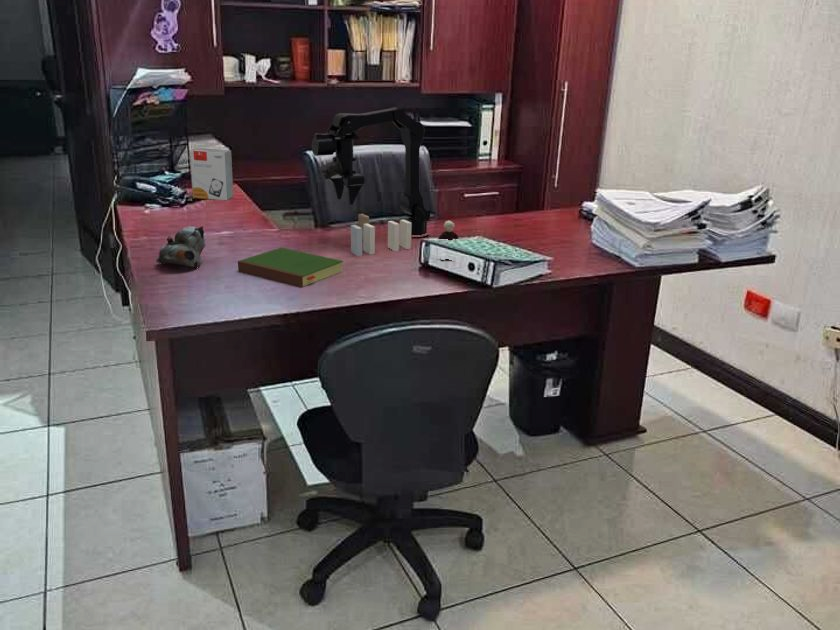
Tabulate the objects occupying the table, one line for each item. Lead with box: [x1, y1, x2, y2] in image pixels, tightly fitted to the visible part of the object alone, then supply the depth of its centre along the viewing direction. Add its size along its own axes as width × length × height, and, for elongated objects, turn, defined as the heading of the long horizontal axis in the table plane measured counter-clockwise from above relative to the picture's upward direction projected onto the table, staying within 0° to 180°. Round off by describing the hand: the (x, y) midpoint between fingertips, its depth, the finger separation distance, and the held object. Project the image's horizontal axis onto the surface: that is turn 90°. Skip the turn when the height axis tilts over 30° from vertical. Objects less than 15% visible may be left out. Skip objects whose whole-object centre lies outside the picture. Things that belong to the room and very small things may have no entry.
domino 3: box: [362, 223, 376, 255], centre depth 238 cm, size 2×5×9 cm, turn 30°
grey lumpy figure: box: [155, 226, 206, 269], centre depth 220 cm, size 15×12×14 cm
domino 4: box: [387, 220, 400, 252], centre depth 243 cm, size 2×5×9 cm, turn 31°
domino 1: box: [350, 224, 363, 257], centre depth 236 cm, size 2×5×9 cm, turn 30°
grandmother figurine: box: [437, 220, 460, 241], centre depth 232 cm, size 8×4×13 cm, turn 118°
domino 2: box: [357, 213, 370, 241], centre depth 251 cm, size 2×5×9 cm, turn 31°
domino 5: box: [399, 219, 412, 250], centre depth 245 cm, size 2×5×9 cm, turn 30°
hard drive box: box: [188, 147, 234, 201], centre depth 307 cm, size 16×8×20 cm, turn 80°
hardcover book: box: [237, 247, 344, 288], centre depth 218 cm, size 25×19×4 cm
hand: (345, 201), depth 243 cm, fingers open, 9 cm apart
